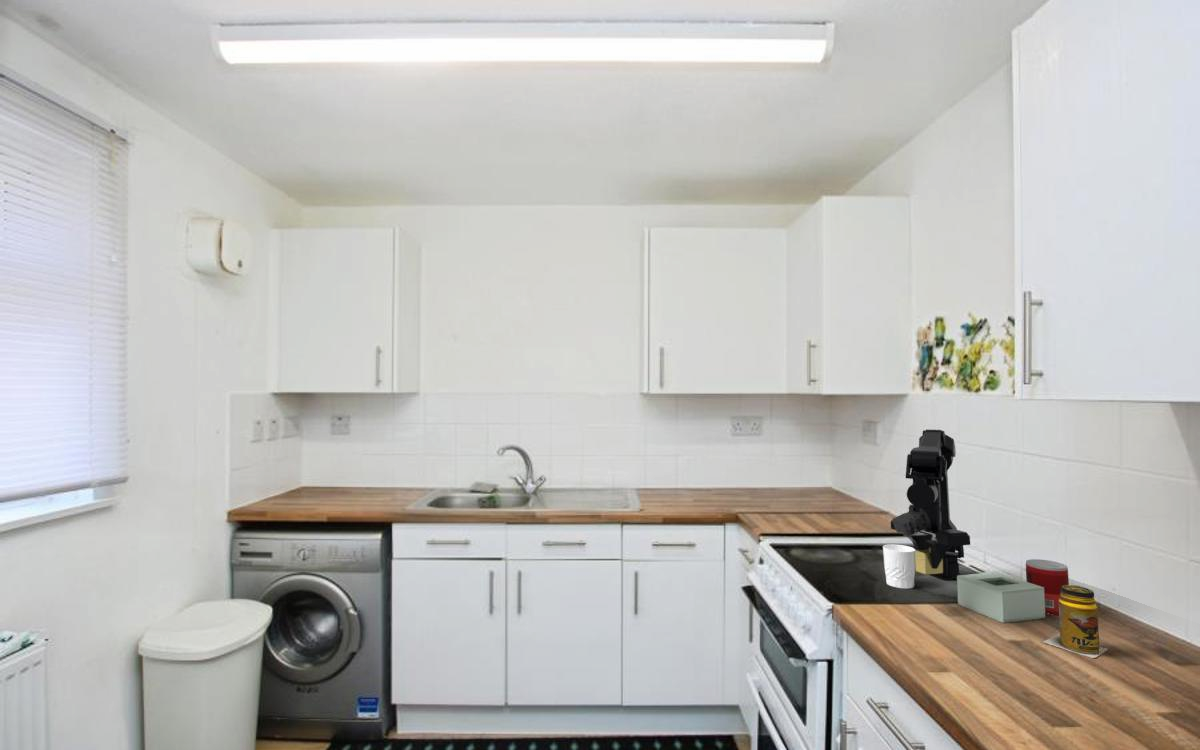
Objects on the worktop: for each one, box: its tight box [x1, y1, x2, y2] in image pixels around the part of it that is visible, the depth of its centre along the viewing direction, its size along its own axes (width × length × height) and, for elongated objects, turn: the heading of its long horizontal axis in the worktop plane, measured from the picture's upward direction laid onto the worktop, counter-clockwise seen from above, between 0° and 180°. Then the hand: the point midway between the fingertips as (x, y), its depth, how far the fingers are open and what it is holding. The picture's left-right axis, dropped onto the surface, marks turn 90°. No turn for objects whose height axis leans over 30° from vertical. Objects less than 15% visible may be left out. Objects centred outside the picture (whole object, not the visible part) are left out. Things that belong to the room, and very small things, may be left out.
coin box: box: [956, 571, 1046, 624], centre depth 132 cm, size 12×12×7 cm
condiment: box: [1042, 584, 1109, 659], centre depth 113 cm, size 7×8×12 cm
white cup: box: [882, 543, 916, 590], centre depth 151 cm, size 8×8×10 cm
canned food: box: [1025, 558, 1070, 616], centre depth 133 cm, size 8×8×11 cm
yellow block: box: [915, 549, 943, 575], centre depth 134 cm, size 3×5×5 cm, turn 103°
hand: (929, 566), depth 134 cm, fingers closed on yellow block, 3 cm apart
